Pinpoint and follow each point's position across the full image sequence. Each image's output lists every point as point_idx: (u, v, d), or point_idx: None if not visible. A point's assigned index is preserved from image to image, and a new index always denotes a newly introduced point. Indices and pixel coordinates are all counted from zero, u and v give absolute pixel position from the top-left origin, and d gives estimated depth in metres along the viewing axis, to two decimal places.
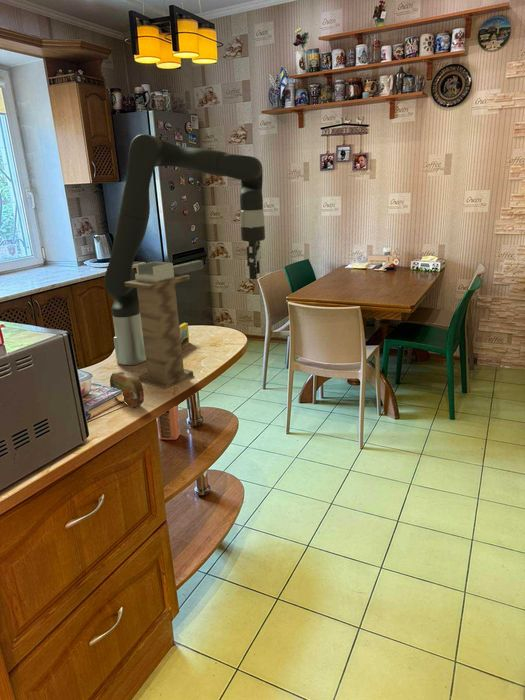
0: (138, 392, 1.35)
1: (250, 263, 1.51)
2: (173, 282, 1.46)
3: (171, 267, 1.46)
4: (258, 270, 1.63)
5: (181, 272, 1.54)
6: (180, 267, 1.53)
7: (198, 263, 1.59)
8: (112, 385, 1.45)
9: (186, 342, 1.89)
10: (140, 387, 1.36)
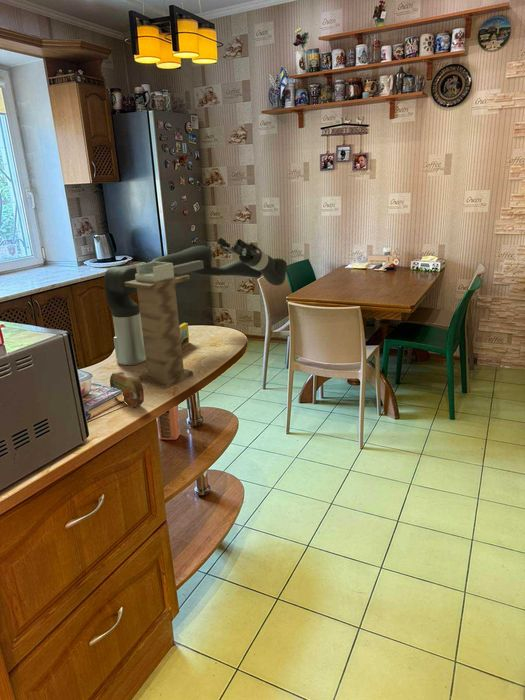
0: (138, 392, 1.35)
1: None
2: (173, 282, 1.46)
3: (171, 267, 1.46)
4: None
5: (181, 272, 1.54)
6: (180, 267, 1.53)
7: (198, 263, 1.59)
8: (112, 385, 1.45)
9: (186, 342, 1.89)
10: (140, 387, 1.36)
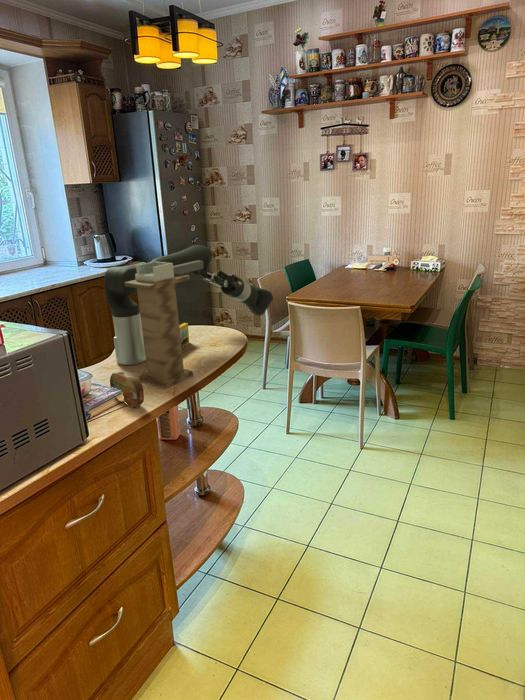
0: (138, 392, 1.35)
1: None
2: (173, 282, 1.46)
3: (171, 267, 1.46)
4: None
5: (181, 272, 1.54)
6: (180, 267, 1.53)
7: (198, 263, 1.59)
8: (112, 385, 1.45)
9: (186, 342, 1.89)
10: (140, 387, 1.36)
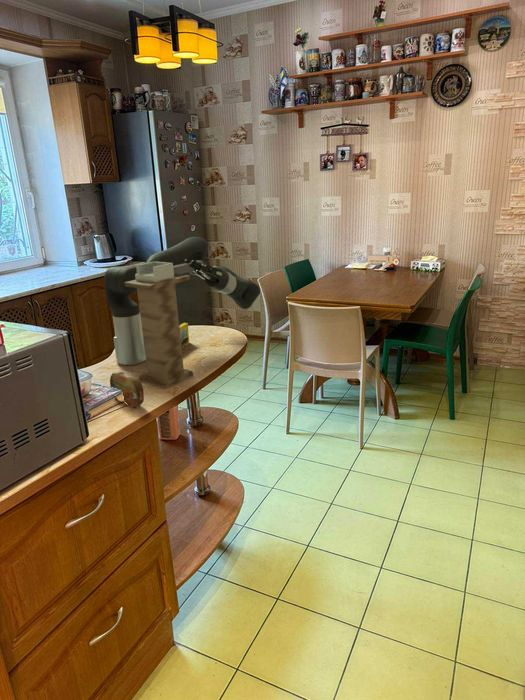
0: (138, 392, 1.35)
1: None
2: (173, 282, 1.46)
3: (171, 267, 1.46)
4: None
5: (181, 272, 1.54)
6: (180, 267, 1.53)
7: None
8: (112, 385, 1.45)
9: (186, 342, 1.89)
10: (140, 387, 1.36)
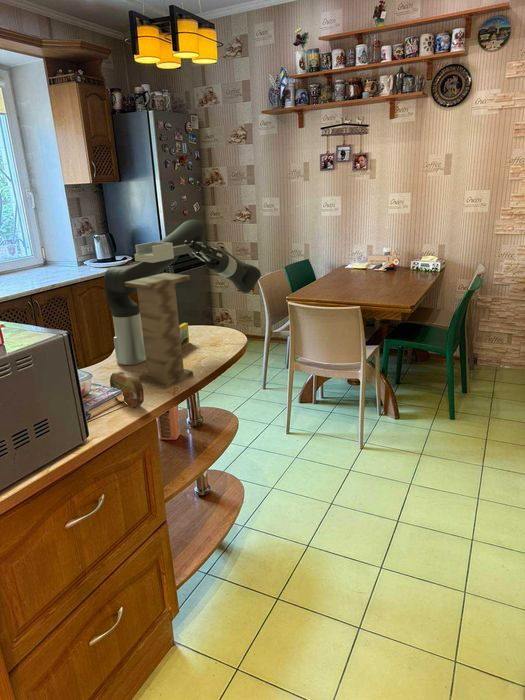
0: (138, 392, 1.35)
1: None
2: (173, 282, 1.46)
3: (171, 247, 1.45)
4: None
5: (181, 253, 1.52)
6: (180, 248, 1.51)
7: None
8: (112, 385, 1.45)
9: (186, 342, 1.89)
10: (140, 387, 1.36)
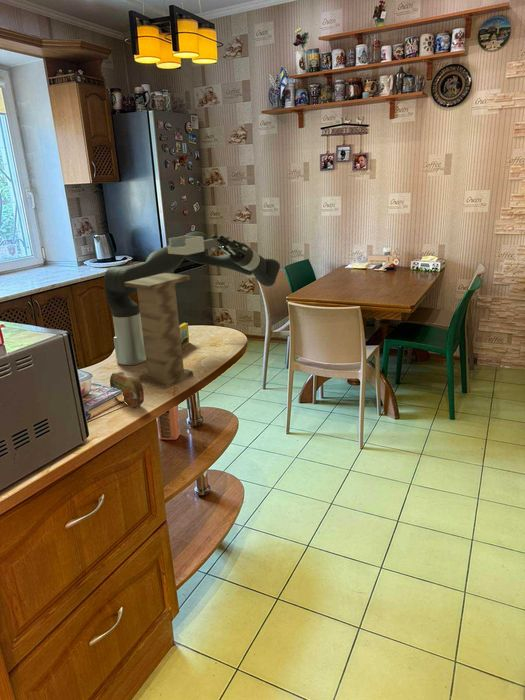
0: (138, 392, 1.35)
1: None
2: (173, 282, 1.46)
3: (202, 240, 1.54)
4: None
5: (210, 246, 1.61)
6: (209, 241, 1.61)
7: None
8: (112, 385, 1.45)
9: (186, 342, 1.89)
10: (140, 387, 1.36)
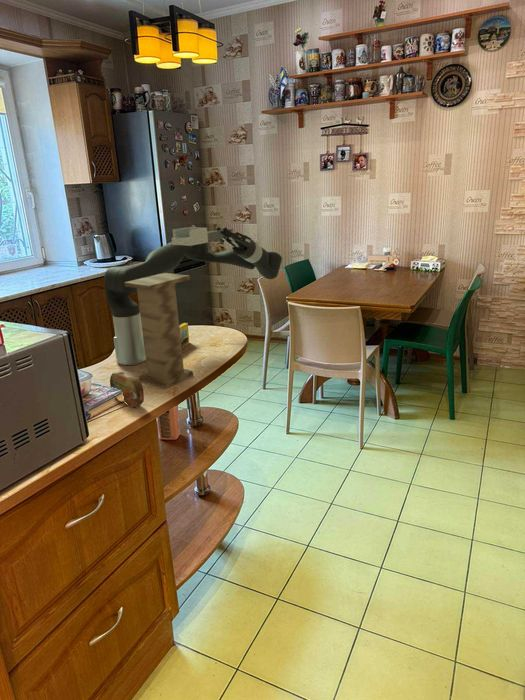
0: (138, 392, 1.35)
1: None
2: (173, 282, 1.46)
3: (205, 232, 1.55)
4: None
5: (213, 238, 1.63)
6: (213, 233, 1.62)
7: None
8: (112, 385, 1.45)
9: (186, 342, 1.89)
10: (140, 387, 1.36)
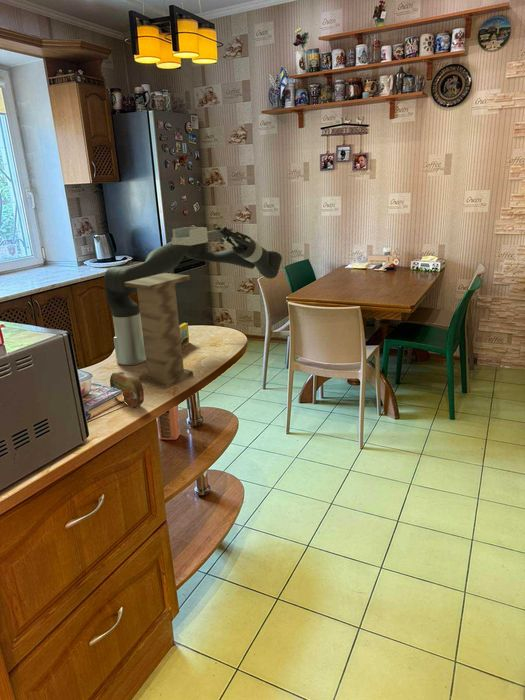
0: (138, 392, 1.35)
1: None
2: (173, 282, 1.46)
3: (205, 231, 1.55)
4: None
5: (213, 237, 1.63)
6: (213, 233, 1.62)
7: None
8: (112, 385, 1.45)
9: (186, 342, 1.89)
10: (140, 387, 1.36)
